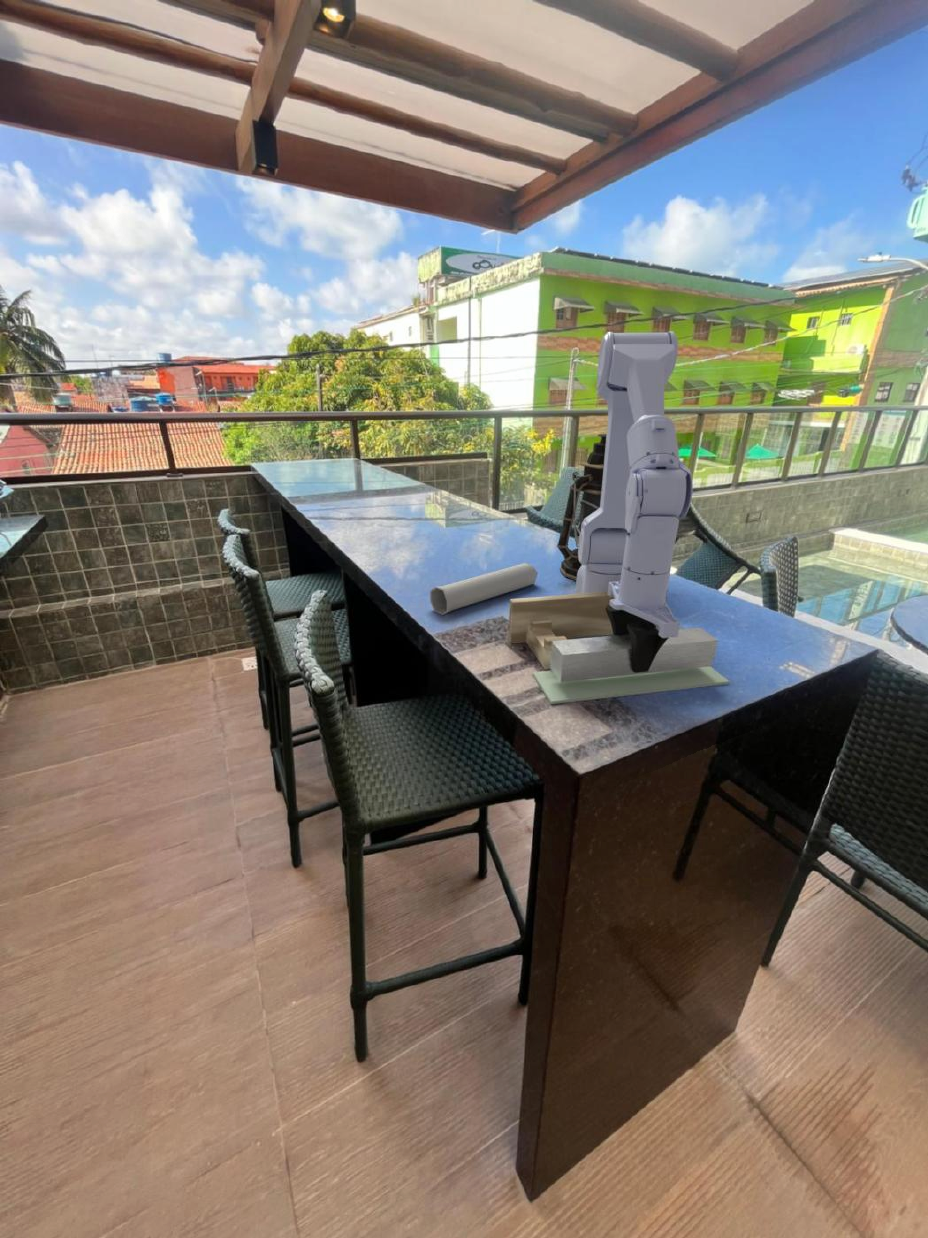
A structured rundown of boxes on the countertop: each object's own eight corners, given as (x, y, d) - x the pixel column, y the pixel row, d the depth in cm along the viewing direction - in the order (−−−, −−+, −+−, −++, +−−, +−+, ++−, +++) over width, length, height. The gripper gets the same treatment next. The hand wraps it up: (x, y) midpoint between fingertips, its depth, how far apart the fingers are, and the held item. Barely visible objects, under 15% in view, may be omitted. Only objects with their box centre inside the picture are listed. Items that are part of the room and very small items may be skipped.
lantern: (613, 558, 121) (630, 425, 109) (657, 579, 108) (681, 429, 96) (538, 567, 116) (547, 427, 103) (574, 590, 102) (588, 432, 90)
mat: (532, 674, 71) (532, 672, 71) (695, 658, 76) (695, 655, 75) (551, 704, 64) (551, 701, 64) (728, 683, 69) (729, 681, 69)
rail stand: (508, 639, 81) (510, 599, 79) (655, 626, 86) (662, 587, 83) (528, 671, 72) (531, 626, 69) (692, 654, 77) (701, 612, 74)
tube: (521, 561, 107) (427, 587, 92) (539, 559, 103) (444, 585, 88) (525, 585, 108) (433, 615, 93) (544, 584, 104) (450, 615, 89)
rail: (549, 667, 69) (551, 641, 67) (694, 652, 73) (699, 627, 71) (560, 682, 65) (563, 655, 64) (712, 666, 69) (718, 640, 68)
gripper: (591, 553, 69) (582, 641, 75) (646, 589, 56) (630, 694, 62) (639, 550, 70) (626, 637, 76) (703, 585, 57) (682, 688, 63)
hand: (631, 662), depth 69 cm, fingers closed on rail, 4 cm apart
